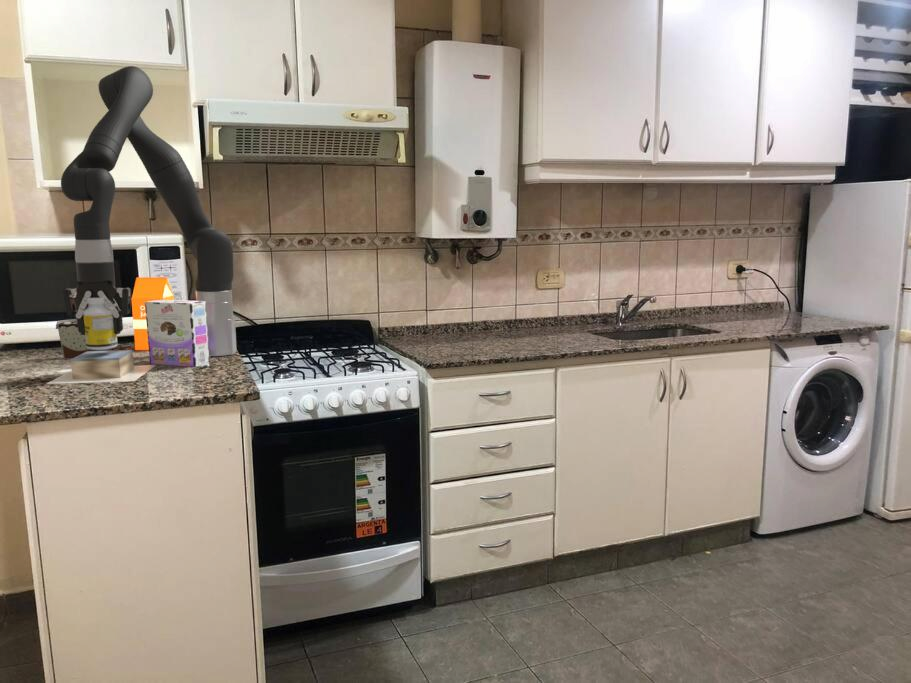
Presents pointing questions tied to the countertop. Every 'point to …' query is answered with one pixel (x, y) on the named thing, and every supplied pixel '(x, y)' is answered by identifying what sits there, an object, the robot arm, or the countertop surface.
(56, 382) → the baseplate
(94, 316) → the pill bottle
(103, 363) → the plinth
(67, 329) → the food container
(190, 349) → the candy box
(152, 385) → the countertop surface
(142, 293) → the orange juice
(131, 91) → the robot arm
